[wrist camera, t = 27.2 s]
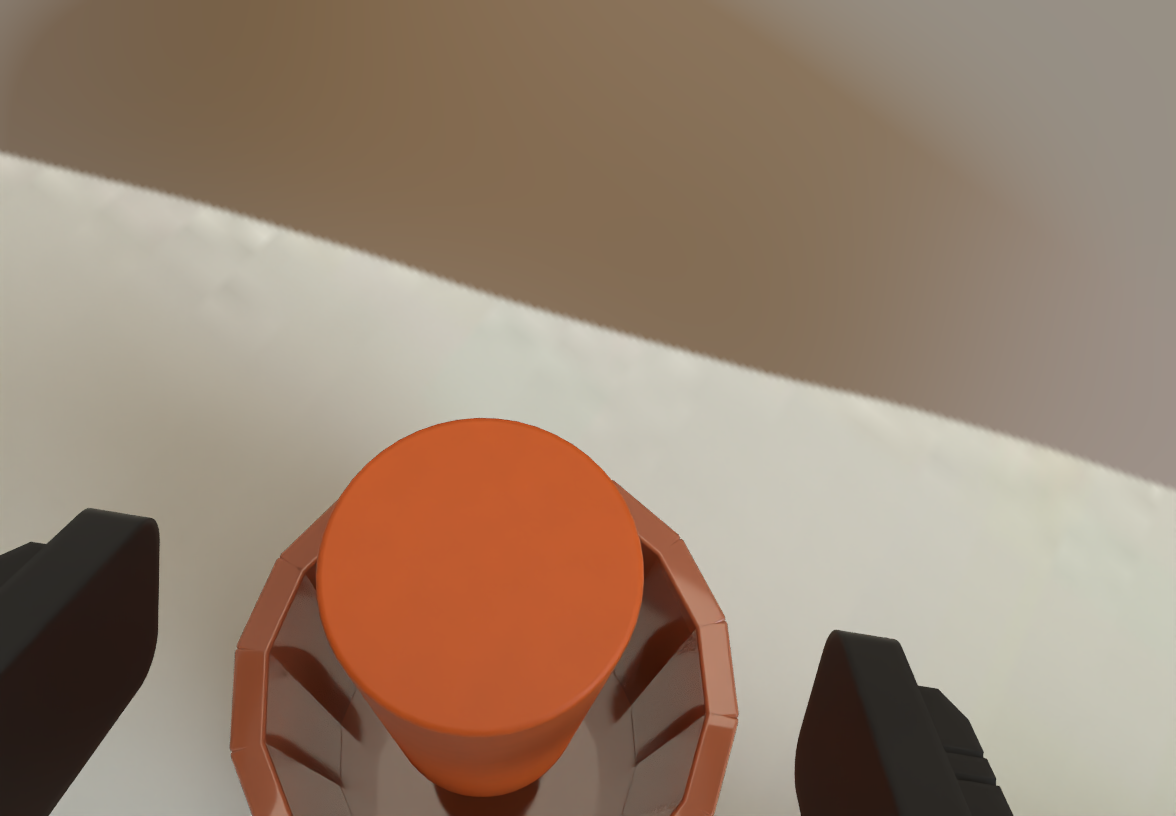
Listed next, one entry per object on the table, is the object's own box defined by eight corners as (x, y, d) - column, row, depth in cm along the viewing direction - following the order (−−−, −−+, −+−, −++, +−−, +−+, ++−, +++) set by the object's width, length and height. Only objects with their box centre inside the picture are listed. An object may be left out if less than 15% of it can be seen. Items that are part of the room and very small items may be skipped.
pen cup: (400, 1000, 22) (346, 1077, 14) (272, 670, 24) (160, 567, 16) (710, 827, 24) (828, 802, 16) (564, 536, 26) (597, 381, 18)
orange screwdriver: (451, 844, 23) (392, 800, 9) (396, 713, 24) (266, 491, 10) (577, 778, 23) (703, 642, 10) (519, 653, 24) (557, 369, 11)
